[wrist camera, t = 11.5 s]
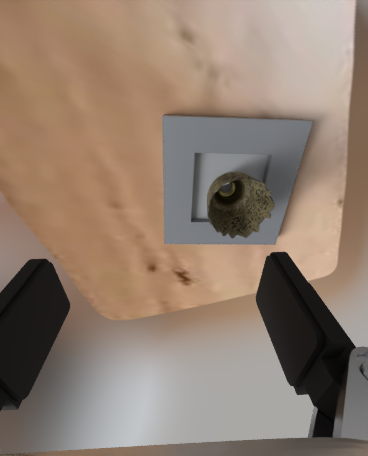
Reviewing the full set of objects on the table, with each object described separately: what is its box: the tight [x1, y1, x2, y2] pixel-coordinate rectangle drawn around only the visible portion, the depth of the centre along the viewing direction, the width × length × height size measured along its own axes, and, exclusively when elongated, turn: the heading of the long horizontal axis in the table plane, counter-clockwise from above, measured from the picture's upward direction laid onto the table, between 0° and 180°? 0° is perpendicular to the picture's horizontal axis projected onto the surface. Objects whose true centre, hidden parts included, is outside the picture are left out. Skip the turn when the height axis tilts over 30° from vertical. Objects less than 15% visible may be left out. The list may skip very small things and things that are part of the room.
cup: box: [207, 172, 275, 238], centre depth 27 cm, size 8×7×8 cm
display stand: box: [162, 115, 313, 245], centre depth 31 cm, size 18×18×2 cm
